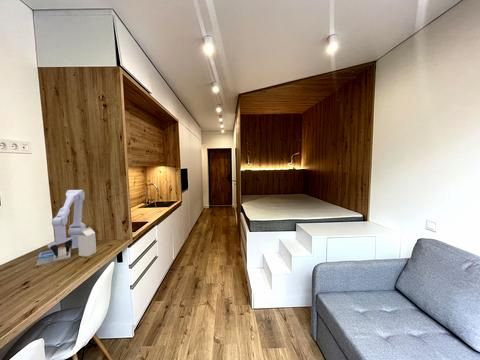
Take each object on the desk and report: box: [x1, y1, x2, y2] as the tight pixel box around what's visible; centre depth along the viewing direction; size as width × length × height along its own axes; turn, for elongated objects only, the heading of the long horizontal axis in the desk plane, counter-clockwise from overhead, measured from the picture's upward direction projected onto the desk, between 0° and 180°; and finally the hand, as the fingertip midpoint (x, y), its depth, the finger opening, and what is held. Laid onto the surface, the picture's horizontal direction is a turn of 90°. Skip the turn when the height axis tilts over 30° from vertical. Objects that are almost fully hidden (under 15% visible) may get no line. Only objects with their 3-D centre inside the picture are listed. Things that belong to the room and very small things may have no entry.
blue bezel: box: [38, 250, 54, 259], centre depth 146 cm, size 9×11×1 cm
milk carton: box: [78, 226, 97, 257], centre depth 147 cm, size 7×7×19 cm
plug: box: [58, 246, 67, 258], centre depth 143 cm, size 4×4×6 cm
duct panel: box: [35, 247, 72, 266], centre depth 144 cm, size 17×21×2 cm
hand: (62, 253), depth 143 cm, fingers closed on plug, 6 cm apart
